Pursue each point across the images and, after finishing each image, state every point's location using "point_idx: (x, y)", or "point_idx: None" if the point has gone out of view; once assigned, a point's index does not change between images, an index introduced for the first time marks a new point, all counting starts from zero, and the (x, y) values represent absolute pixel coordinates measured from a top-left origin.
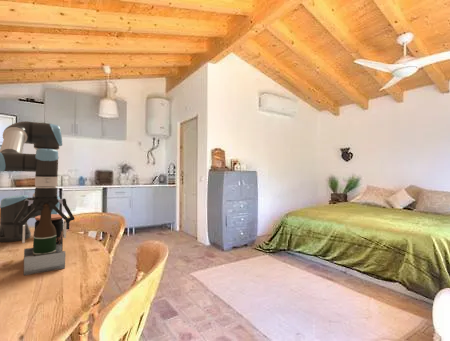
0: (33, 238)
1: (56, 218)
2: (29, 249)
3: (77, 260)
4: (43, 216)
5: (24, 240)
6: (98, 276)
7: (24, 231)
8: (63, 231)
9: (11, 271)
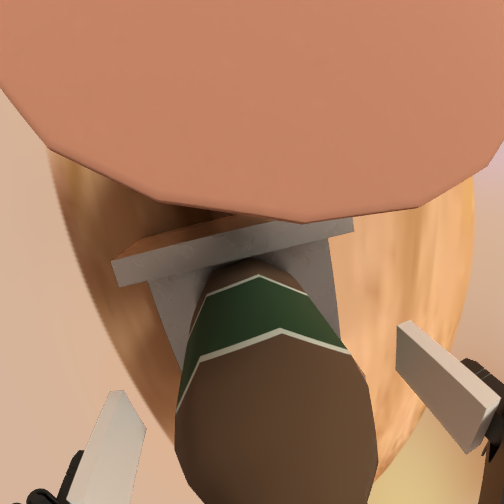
0: (178, 402)
1: (476, 161)
2: (147, 279)
3: (385, 254)
4: None
5: (140, 441)
6: (408, 419)
7: (127, 496)
8: (424, 360)
9: (122, 318)
